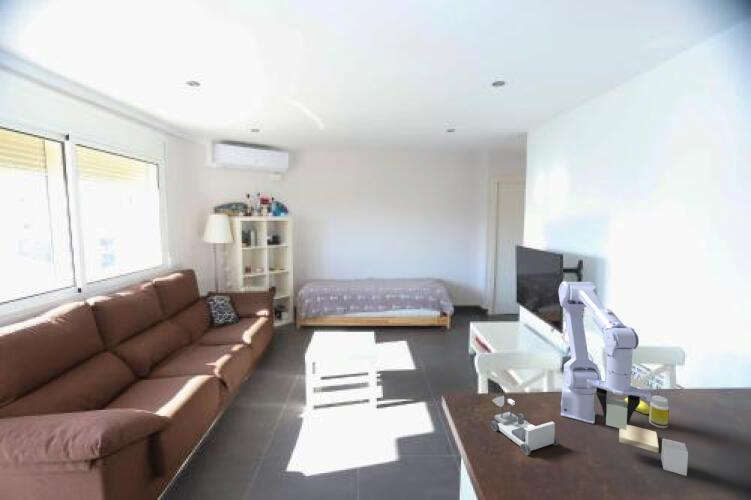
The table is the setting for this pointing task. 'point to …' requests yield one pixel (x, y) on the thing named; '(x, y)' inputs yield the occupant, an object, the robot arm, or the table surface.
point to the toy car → (523, 429)
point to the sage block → (616, 413)
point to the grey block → (674, 456)
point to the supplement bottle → (659, 412)
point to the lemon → (641, 407)
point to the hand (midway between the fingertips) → (616, 418)
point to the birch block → (639, 438)
